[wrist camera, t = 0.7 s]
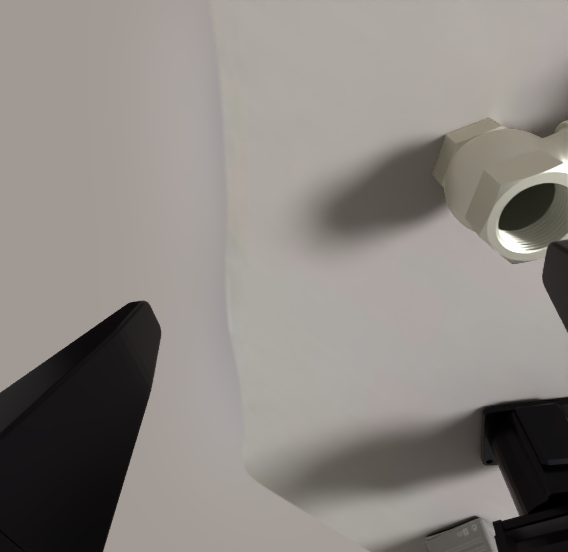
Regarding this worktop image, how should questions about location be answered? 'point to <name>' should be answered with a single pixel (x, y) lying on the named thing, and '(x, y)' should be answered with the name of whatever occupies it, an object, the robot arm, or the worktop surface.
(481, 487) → the worktop surface
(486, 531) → the skincare box
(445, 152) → the valve
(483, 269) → the worktop surface
